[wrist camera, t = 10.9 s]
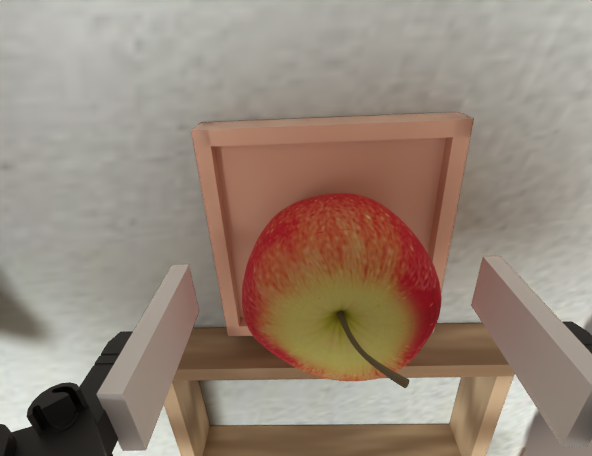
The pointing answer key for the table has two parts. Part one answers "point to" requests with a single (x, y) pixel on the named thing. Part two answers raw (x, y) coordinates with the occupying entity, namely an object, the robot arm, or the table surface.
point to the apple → (341, 289)
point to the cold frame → (341, 438)
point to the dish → (326, 179)
